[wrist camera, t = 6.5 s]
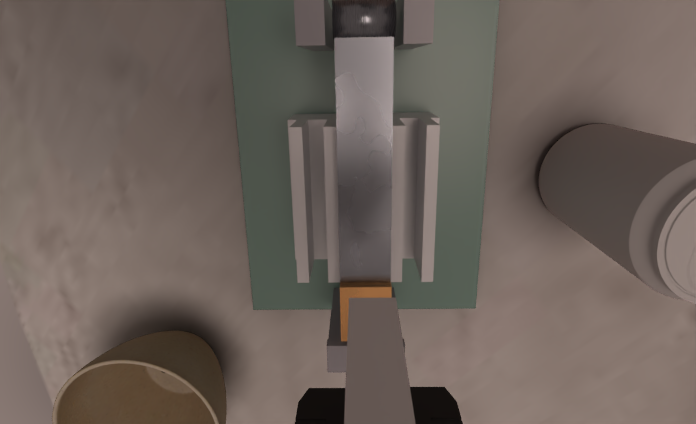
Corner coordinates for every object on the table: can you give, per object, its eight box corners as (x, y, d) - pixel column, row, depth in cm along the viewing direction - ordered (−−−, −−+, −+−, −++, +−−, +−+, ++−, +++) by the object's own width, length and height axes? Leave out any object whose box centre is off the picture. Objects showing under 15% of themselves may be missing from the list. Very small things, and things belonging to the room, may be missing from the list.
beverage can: (535, 227, 30) (645, 327, 19) (532, 129, 28) (652, 174, 17) (635, 213, 30) (811, 306, 18) (638, 113, 28) (837, 147, 16)
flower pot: (234, 292, 32) (200, 354, 25) (260, 409, 35) (236, 493, 28) (96, 305, 32) (26, 370, 26) (133, 420, 35) (79, 504, 29)
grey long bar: (333, 3, 20) (331, -3, 18) (393, 1, 20) (396, -5, 18) (341, 322, 25) (340, 341, 23) (389, 322, 25) (391, 341, 23)
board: (228, -13, 26) (171, -48, 18) (495, -19, 26) (560, -57, 17) (256, 302, 32) (222, 382, 24) (472, 301, 32) (511, 382, 24)
